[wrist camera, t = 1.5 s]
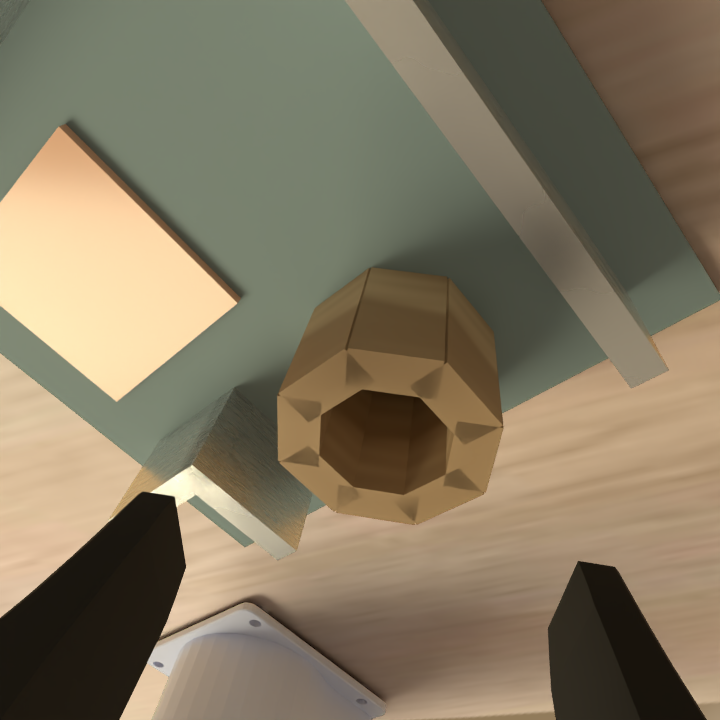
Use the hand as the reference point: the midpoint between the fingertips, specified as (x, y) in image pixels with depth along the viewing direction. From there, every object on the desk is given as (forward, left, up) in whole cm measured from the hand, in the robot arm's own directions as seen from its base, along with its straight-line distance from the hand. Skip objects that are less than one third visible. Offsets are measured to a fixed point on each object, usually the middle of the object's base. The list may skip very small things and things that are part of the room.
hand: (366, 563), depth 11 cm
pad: (+7, +6, -7) cm, 12 cm away
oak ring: (0, 0, -7) cm, 7 cm away
